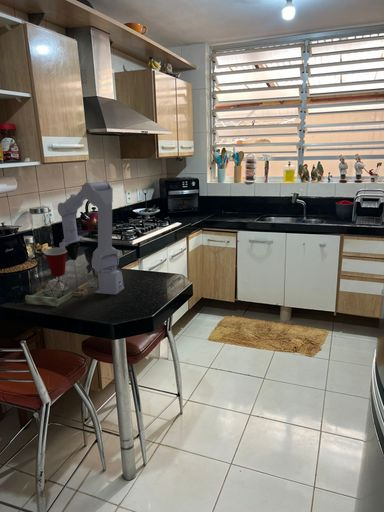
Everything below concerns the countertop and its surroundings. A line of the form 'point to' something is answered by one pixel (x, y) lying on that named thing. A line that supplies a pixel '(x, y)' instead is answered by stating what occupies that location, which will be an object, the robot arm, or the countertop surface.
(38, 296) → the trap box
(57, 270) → the plastic cup
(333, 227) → the countertop surface
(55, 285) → the game die
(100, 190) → the robot arm
